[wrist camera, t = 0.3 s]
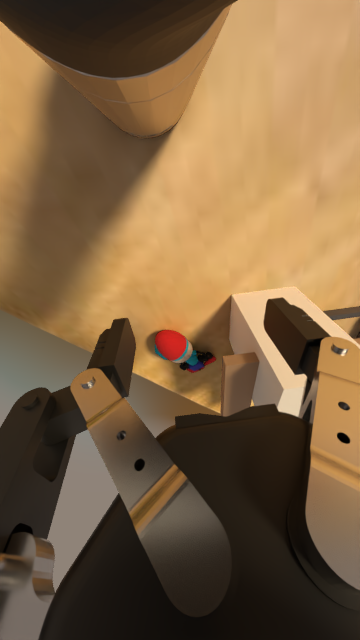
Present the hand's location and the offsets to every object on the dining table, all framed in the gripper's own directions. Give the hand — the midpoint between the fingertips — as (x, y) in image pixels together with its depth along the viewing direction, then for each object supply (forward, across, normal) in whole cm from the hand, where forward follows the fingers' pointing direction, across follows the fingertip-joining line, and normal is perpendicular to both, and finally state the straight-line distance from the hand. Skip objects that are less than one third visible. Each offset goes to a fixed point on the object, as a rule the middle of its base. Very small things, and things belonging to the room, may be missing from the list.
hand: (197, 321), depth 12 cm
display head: (+18, -12, +20) cm, 30 cm away
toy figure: (+19, +1, +20) cm, 27 cm away
